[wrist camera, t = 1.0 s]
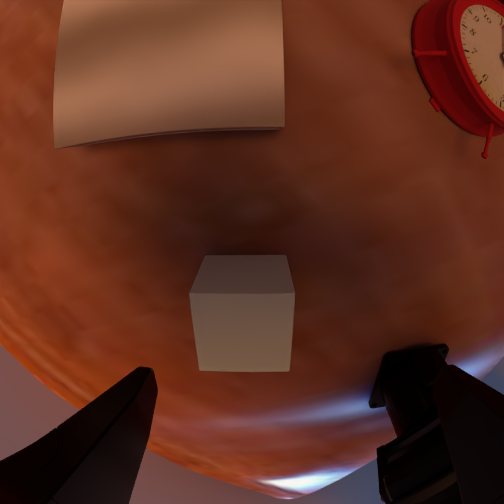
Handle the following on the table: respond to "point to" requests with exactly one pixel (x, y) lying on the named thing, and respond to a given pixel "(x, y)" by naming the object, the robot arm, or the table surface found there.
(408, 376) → the robot arm
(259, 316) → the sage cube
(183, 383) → the table surface
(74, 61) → the maple block
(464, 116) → the alarm clock
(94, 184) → the table surface
